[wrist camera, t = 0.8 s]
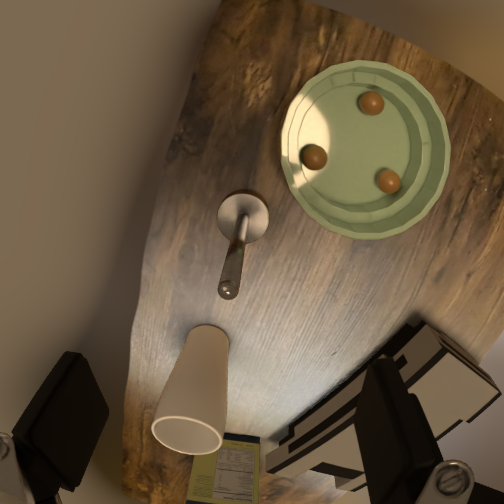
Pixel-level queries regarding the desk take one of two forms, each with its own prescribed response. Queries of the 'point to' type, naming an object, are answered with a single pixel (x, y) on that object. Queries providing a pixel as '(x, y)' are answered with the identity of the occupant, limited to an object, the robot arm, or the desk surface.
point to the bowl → (365, 149)
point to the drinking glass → (195, 395)
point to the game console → (417, 381)
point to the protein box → (227, 473)
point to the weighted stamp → (239, 234)
